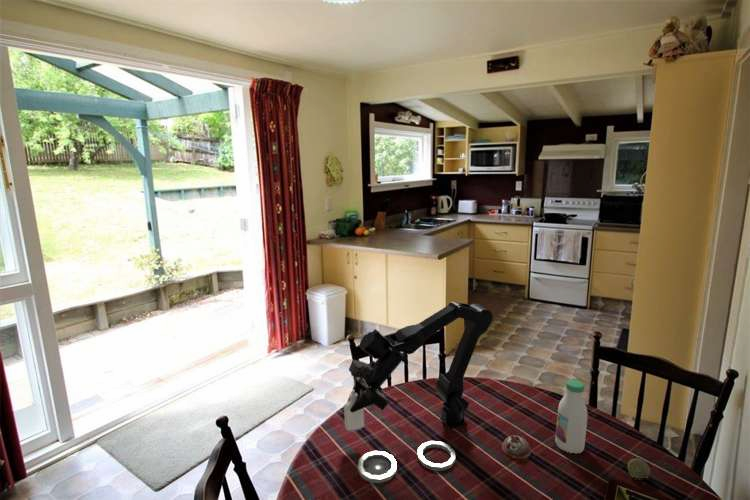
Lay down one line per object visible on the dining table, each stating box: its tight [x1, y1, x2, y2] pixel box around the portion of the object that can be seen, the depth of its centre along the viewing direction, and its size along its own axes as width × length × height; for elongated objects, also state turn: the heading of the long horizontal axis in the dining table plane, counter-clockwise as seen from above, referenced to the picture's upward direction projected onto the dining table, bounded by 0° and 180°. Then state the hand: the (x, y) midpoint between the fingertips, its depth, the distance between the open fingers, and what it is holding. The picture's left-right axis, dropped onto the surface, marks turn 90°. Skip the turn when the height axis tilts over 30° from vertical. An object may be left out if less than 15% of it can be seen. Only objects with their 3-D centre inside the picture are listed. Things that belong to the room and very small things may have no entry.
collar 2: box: [417, 440, 457, 472], centre depth 113 cm, size 10×10×1 cm
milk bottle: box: [554, 379, 588, 455], centre depth 115 cm, size 8×8×20 cm
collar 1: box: [357, 450, 398, 484], centre depth 109 cm, size 10×10×1 cm
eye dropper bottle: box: [343, 389, 365, 432], centre depth 117 cm, size 4×6×12 cm
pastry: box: [501, 434, 532, 460], centre depth 115 cm, size 8×8×5 cm
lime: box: [627, 457, 651, 480], centre depth 105 cm, size 4×5×5 cm
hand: (349, 407), depth 116 cm, fingers closed on eye dropper bottle, 3 cm apart
